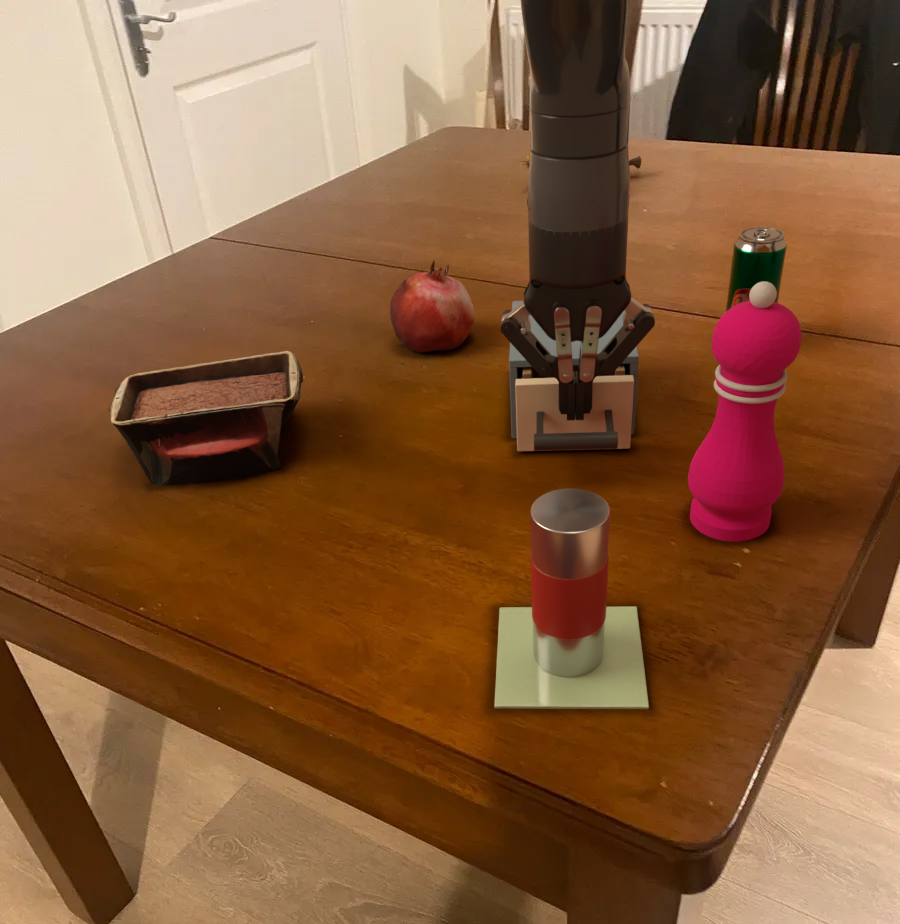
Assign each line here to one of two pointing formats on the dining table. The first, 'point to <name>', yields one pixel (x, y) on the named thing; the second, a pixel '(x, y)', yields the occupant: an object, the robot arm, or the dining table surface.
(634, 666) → the tile
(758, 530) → the pepper mill
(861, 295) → the dining table surface
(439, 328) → the fruit
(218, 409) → the baking dish
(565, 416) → the drawer
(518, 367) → the cabinet
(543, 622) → the tin
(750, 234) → the soda can
